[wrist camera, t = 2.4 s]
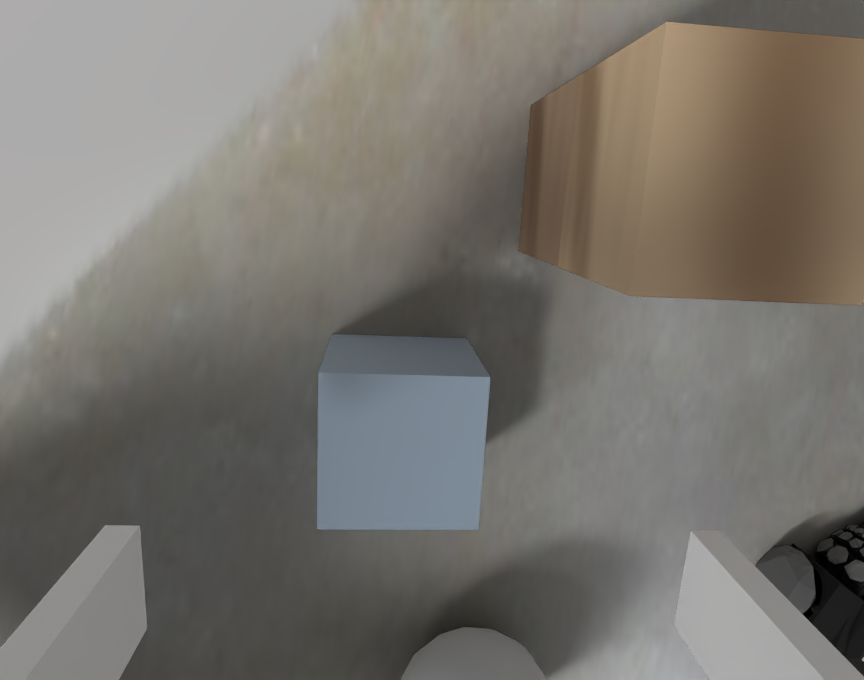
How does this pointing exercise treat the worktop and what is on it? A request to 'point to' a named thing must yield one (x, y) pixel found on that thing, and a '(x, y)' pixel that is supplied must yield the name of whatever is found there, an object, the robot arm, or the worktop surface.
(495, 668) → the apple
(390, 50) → the worktop surface
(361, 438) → the slate block
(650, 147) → the tower upper block
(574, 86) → the tower lower block
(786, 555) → the ring
